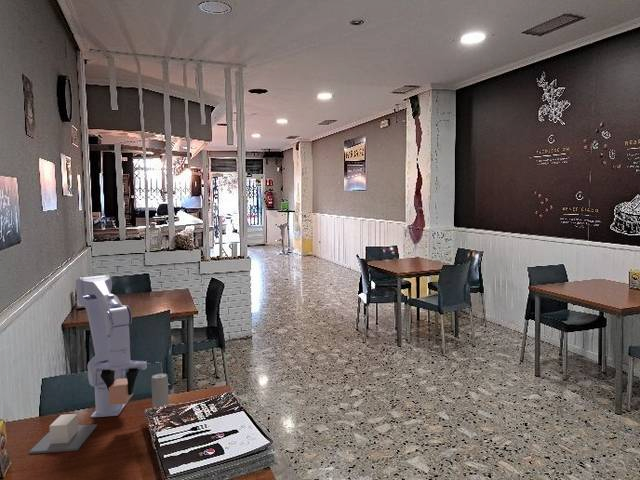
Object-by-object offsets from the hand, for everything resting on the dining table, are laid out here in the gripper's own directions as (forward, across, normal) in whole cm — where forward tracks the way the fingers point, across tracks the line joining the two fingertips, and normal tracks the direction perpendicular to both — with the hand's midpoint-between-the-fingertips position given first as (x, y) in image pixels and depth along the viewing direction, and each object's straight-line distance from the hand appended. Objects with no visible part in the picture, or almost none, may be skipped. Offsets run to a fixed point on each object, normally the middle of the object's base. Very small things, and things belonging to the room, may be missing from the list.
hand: (121, 394), depth 135 cm
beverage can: (+10, +9, +8) cm, 16 cm away
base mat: (+10, -14, -5) cm, 18 cm away
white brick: (+9, -14, -5) cm, 18 cm away
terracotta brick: (+2, 0, 0) cm, 2 cm away
